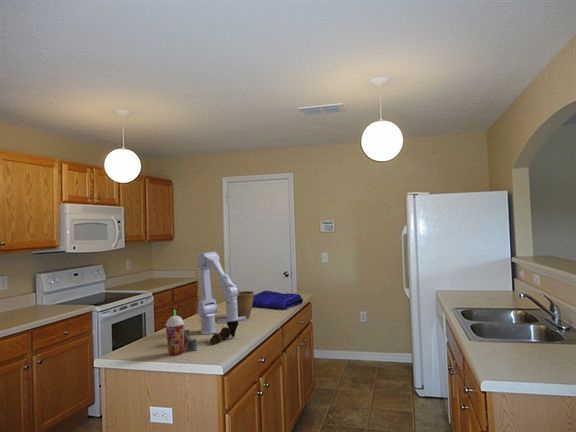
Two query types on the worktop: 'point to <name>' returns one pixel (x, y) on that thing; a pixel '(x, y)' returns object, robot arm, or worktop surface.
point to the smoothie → (175, 335)
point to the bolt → (220, 335)
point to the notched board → (189, 341)
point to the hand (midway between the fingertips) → (232, 336)
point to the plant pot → (245, 303)
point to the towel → (276, 300)
